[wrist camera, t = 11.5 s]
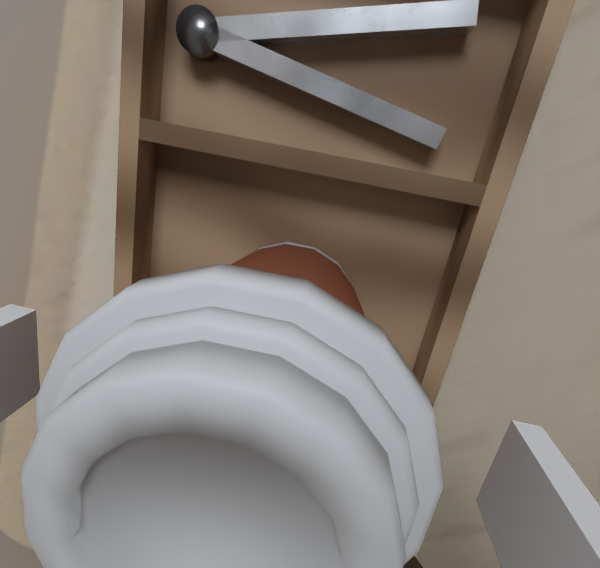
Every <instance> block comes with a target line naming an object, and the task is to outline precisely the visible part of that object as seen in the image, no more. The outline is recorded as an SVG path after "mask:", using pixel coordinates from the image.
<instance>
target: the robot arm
mask: <svg viewBox="0 0 600 568" xmlns="http://www.w3.org/2000/svg"><path fill="white" fill-rule="evenodd" d="M39 390H40V382H39V362H38V342H37V321H36V310H34V309H29V308H25V307H21V306H16V305H12V304H9V305H7V306H5V307H2V308H0V422H1V421H3V420H4V419H5V418H7V417H8V416H9V415H11V414H12V413H14V412H15V411H16V410H18V409H19V408H20V407H22V406H23V405H24V404H26V403H27V402H28V401H30V400H31V399H32V398H34V397H35V396H36V395H37V394H38V392H39ZM476 500H477V503H478V506H479V508H480V511H481V514H482V516H483V519H484V522H485V524H486V527H487V530H488V532H489V535H490V538H491V540H492V543H493V546H494V548H495V551H496V554H497V556H498V559H499V561H500V564H501V567H502V568H600V506H599V504H598V503H597V502H596V500H595V499H594V498H593V496H592V495H591V493H590V492H589V491H588V489H587V488H586V487H585V485H584V484H583V482H582V481H581V480H580V478H579V477H578V476H577V474H576V473H575V471H574V470H573V469H572V467H571V466H570V465H569V463H568V462H567V461H566V459H565V458H564V456H563V455H562V454H561V452H560V451H559V450H558V448H557V447H556V445H555V444H554V443H553V441H552V440H551V439H550V437H549V436H548V434H547V433H546V432H545V430H544V429H543V428H542V427H540V426H536V425H532V424H527V423H523V422H519V421H514V420H512V421H511V423H510V425H509V427H508V430H507V432H506V434H505V436H504V439H503V441H502V443H501V445H500V447H499V450H498V452H497V454H496V456H495V459H494V461H493V463H492V465H491V468H490V470H489V472H488V474H487V477H486V479H485V481H484V483H483V486H482V488H481V490H480V492H479V494H478V497H477V499H476Z"/></svg>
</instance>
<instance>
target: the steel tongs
mask: <svg viewBox="0 0 600 568" xmlns="http://www.w3.org/2000/svg"><path fill="white" fill-rule="evenodd" d="M478 6H479V0H449V1H435V2H420V3H406V4H392V5H377V6H363V7H349V8H335V9H320V10H306V11H292V12H277V13H263V14H249V15H234V16H220V17H215V16H214V15H213V14H212V13H211V11H210V10H209V9H207V8H206V7H204V6H202V5H198V4H193V5H189V6H187V7H186V8H184V9H183V10H182V11H181V13H180V14H179V16H178V18H177V21H176V35H177V38H178V40H179V42H180V44H181V45H182V47H183V48H184V49H185V50H187V51H188V52H189V53H191V54H192V55H193V56H195V57H196V58H197V59H199V60H201V61H204V62H212V61H215V60H216V59H218V58H219V57H221V58H223V59H225V60H227V61H230V62H232V63H234V64H236V65H239V66H241V67H243V68H245V69H248V70H250V71H252V72H254V73H257V74H259V75H261V76H263V77H266V78H268V79H270V80H272V81H275V82H277V83H279V84H281V85H284V86H286V87H288V88H290V89H293V90H295V91H297V92H300V93H302V94H304V95H306V96H309V97H311V98H313V99H315V100H318V101H320V102H322V103H324V104H327V105H329V106H331V107H333V108H336V109H338V110H340V111H342V112H345V113H347V114H349V115H351V116H354V117H356V118H358V119H360V120H363V121H365V122H367V123H369V124H372V125H374V126H376V127H378V128H381V129H383V130H385V131H388V132H390V133H392V134H394V135H397V136H399V137H401V138H403V139H406V140H408V141H410V142H412V143H415V144H417V145H419V146H421V147H424V148H426V149H428V150H430V151H431V150H436V149H437V147H438V145H439V143H440V142H441V140H442V138H443V136H444V134H445V132H446V130H447V128H445V127H442V126H440V125H438V124H436V123H433V122H431V121H429V120H427V119H424V118H422V117H420V116H418V115H415V114H413V113H411V112H409V111H406V110H404V109H402V108H400V107H397V106H395V105H393V104H391V103H388V102H386V101H384V100H382V99H380V98H377V97H375V96H373V95H371V94H368V93H366V92H364V91H362V90H359V89H357V88H355V87H353V86H350V85H348V84H346V83H344V82H341V81H339V80H337V79H335V78H332V77H330V76H328V75H326V74H323V73H321V72H319V71H317V70H314V69H312V68H310V67H308V66H305V65H303V64H301V63H299V62H296V61H294V60H292V59H290V58H287V57H285V56H283V55H281V54H278V53H276V52H274V51H272V50H269V49H267V48H265V47H278V46H295V45H311V44H328V43H344V42H361V41H378V40H394V39H411V38H428V37H444V36H461V35H468V34H469V33H470V32H471V31H472V30H473V29H474V28H475V27H476V26H477V16H478Z"/></svg>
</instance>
